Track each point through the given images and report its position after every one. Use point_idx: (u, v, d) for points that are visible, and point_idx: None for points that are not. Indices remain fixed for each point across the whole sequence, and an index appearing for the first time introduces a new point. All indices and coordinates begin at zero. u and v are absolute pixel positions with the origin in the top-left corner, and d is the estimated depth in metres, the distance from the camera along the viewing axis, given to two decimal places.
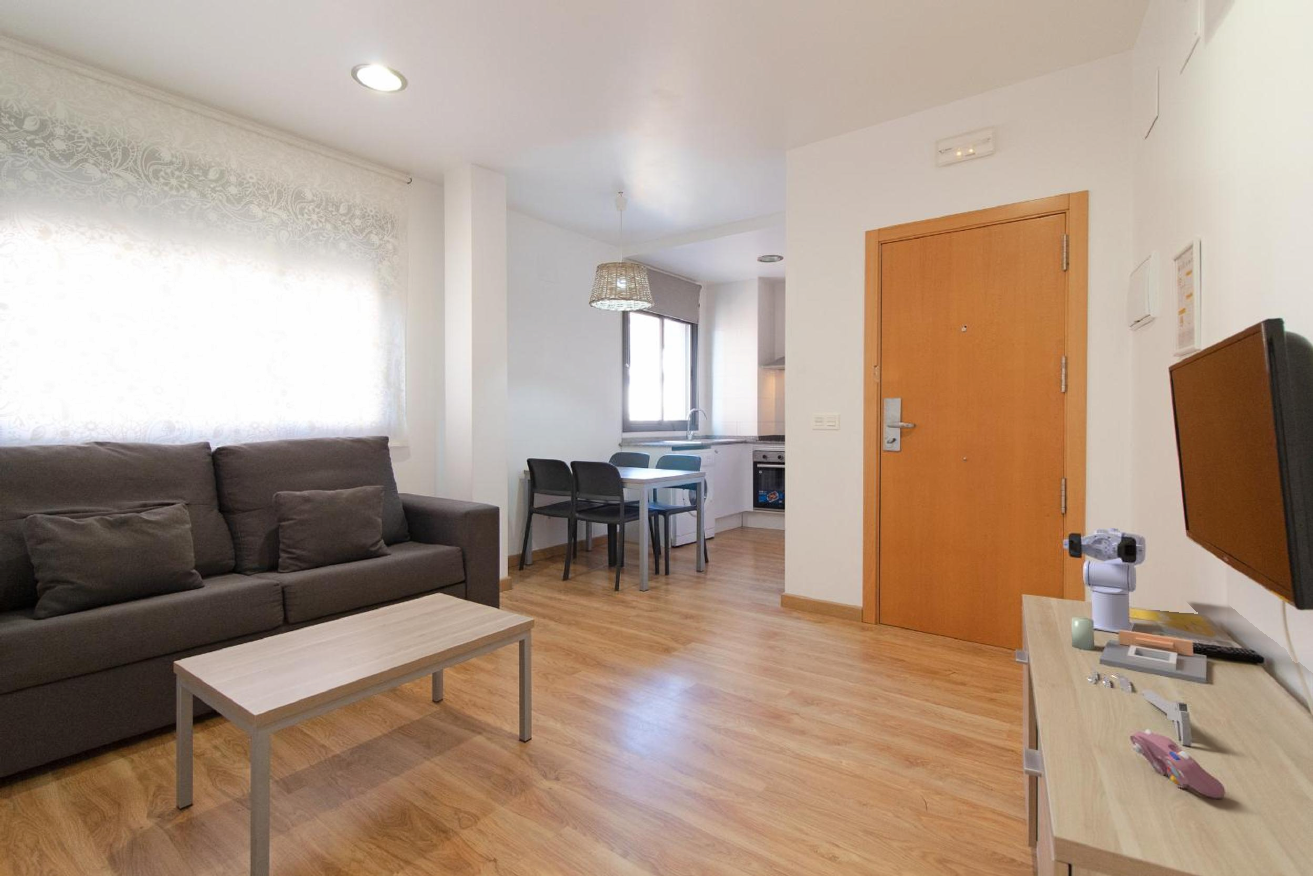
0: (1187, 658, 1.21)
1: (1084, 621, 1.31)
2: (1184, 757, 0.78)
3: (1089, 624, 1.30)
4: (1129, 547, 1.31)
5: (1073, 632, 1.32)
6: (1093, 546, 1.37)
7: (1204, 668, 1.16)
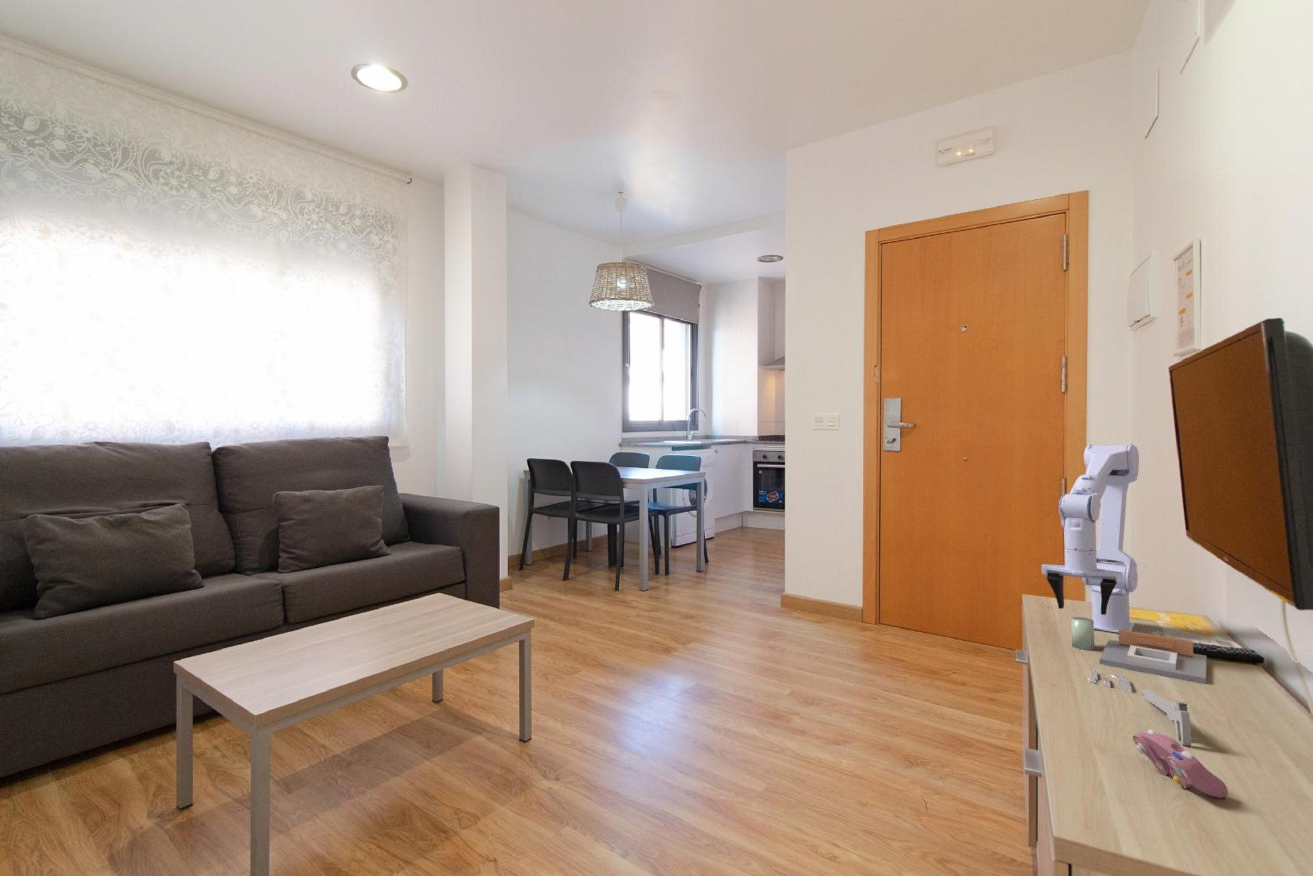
0: (1187, 658, 1.21)
1: (1084, 621, 1.31)
2: (1187, 757, 0.78)
3: (1089, 624, 1.30)
4: None
5: (1073, 632, 1.32)
6: None
7: (1204, 668, 1.16)
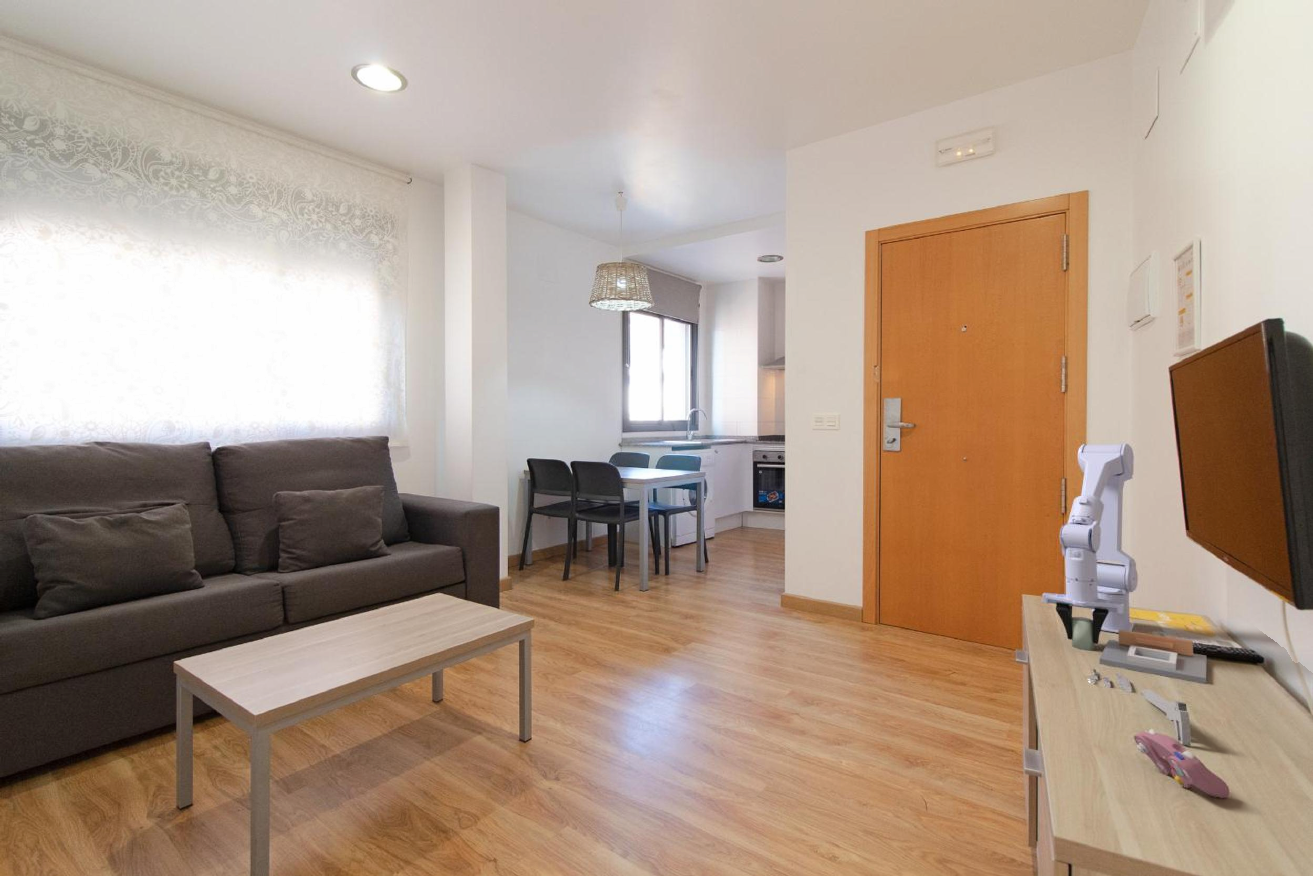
0: (1187, 658, 1.21)
1: (1084, 621, 1.31)
2: (1188, 757, 0.78)
3: (1089, 624, 1.30)
4: None
5: (1073, 632, 1.32)
6: None
7: (1204, 668, 1.16)
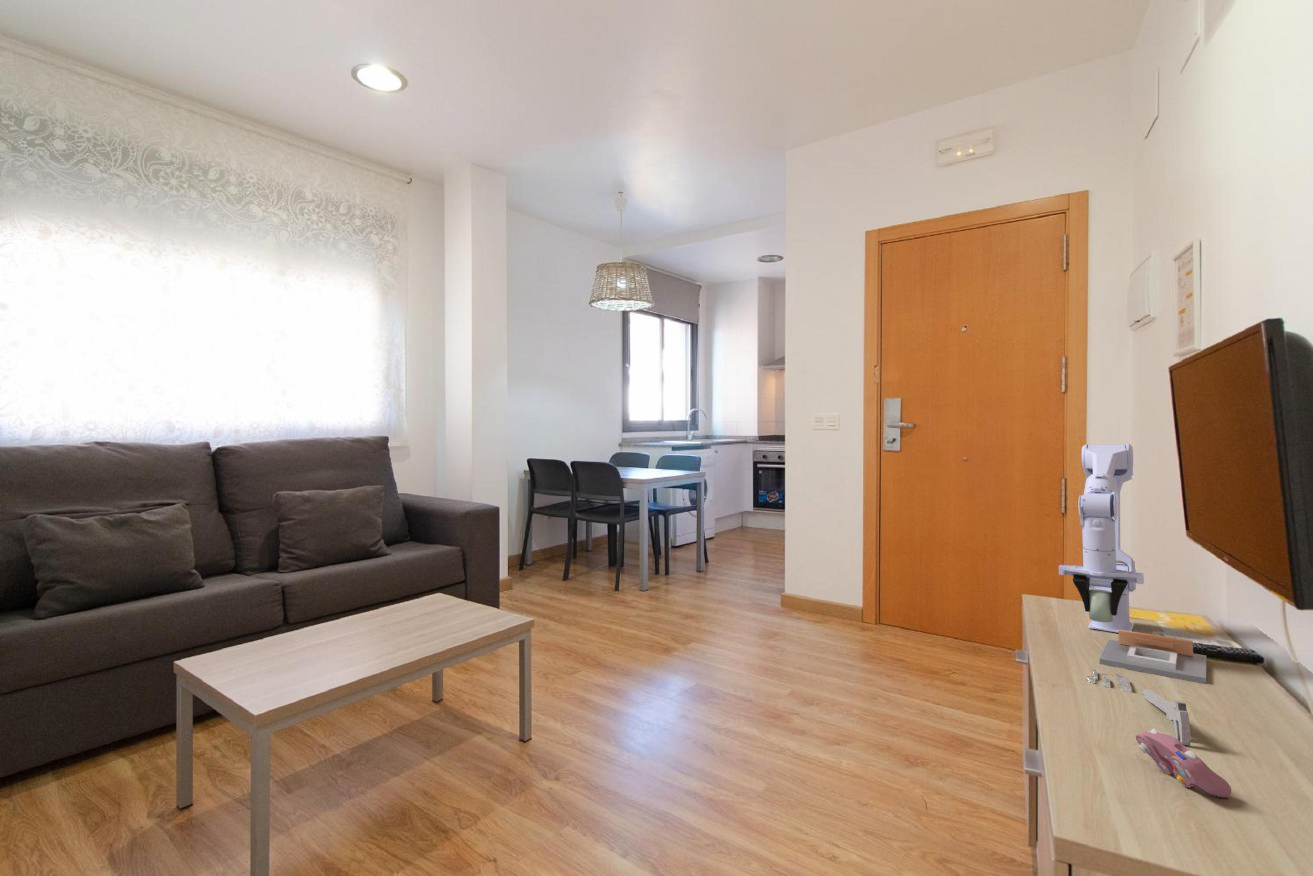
0: (1187, 658, 1.21)
1: (1102, 593, 1.28)
2: (1190, 757, 0.78)
3: (1107, 596, 1.27)
4: None
5: (1091, 604, 1.29)
6: None
7: (1204, 668, 1.16)
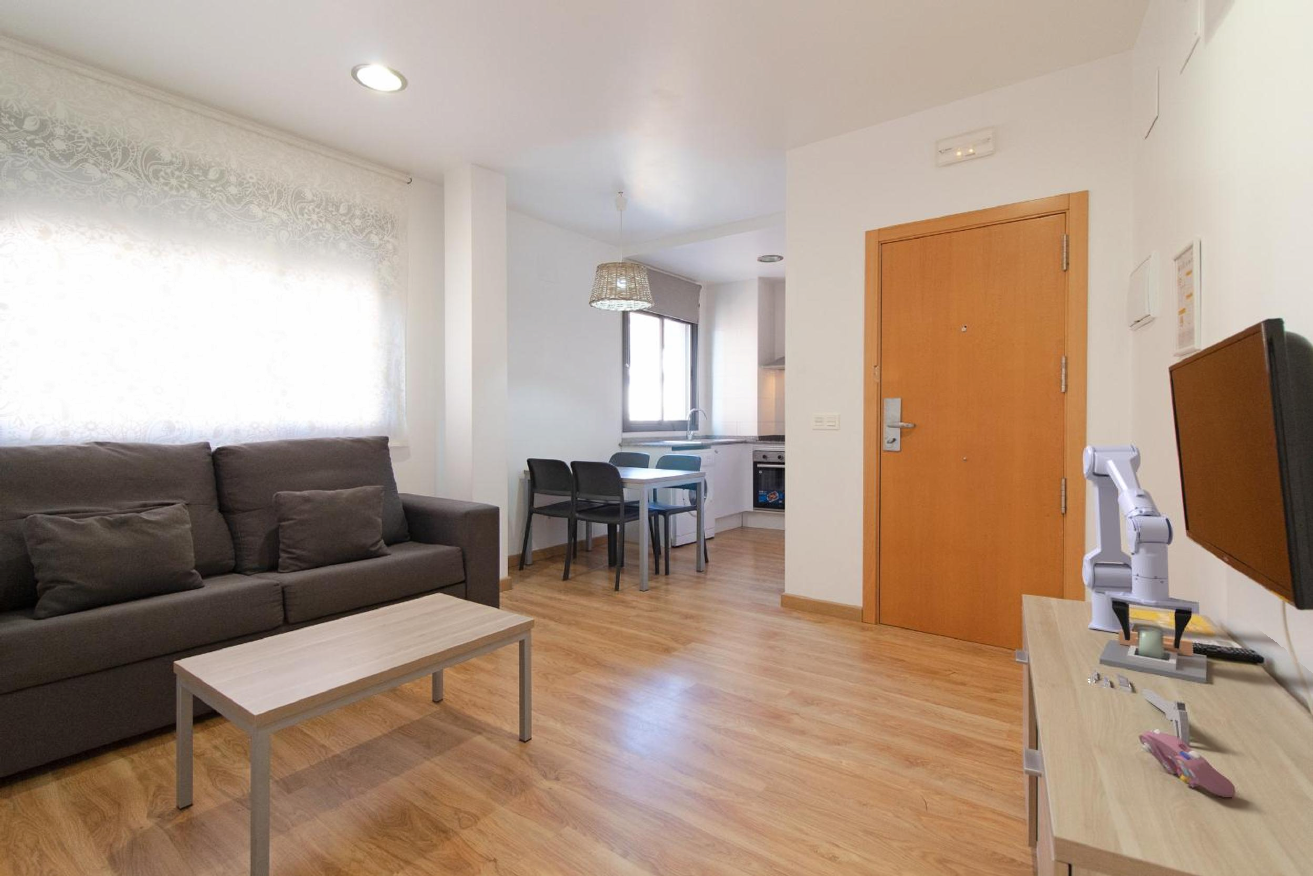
0: (1187, 658, 1.21)
1: (1153, 631, 1.20)
2: (1194, 757, 0.78)
3: (1159, 635, 1.19)
4: None
5: (1140, 644, 1.21)
6: None
7: (1204, 668, 1.16)
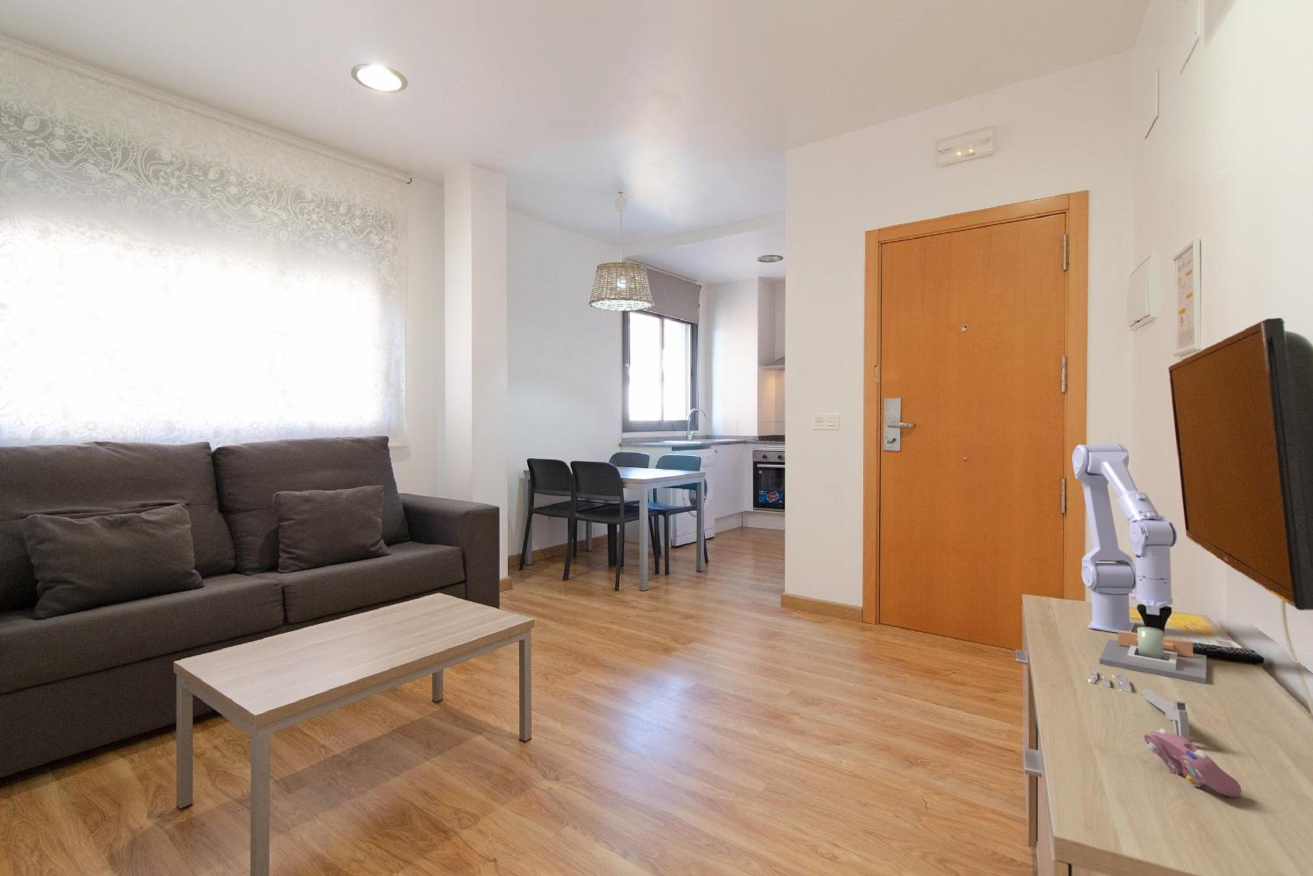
0: (1187, 658, 1.21)
1: (1153, 632, 1.20)
2: (1200, 756, 0.78)
3: (1159, 635, 1.19)
4: None
5: (1141, 644, 1.21)
6: None
7: (1204, 668, 1.16)
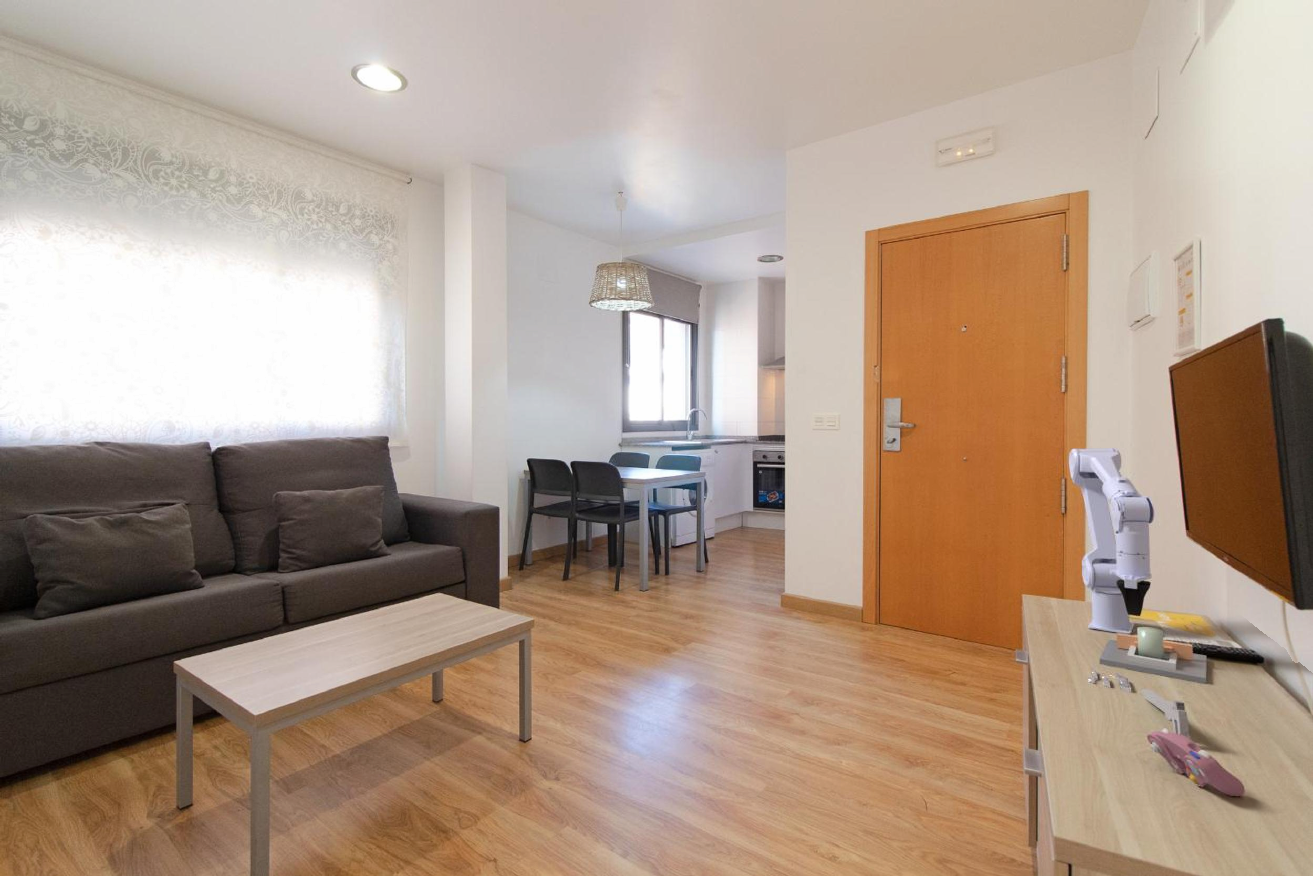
0: None
1: (1153, 632, 1.20)
2: (1204, 756, 0.78)
3: (1159, 635, 1.19)
4: None
5: (1141, 644, 1.21)
6: None
7: (1204, 668, 1.16)
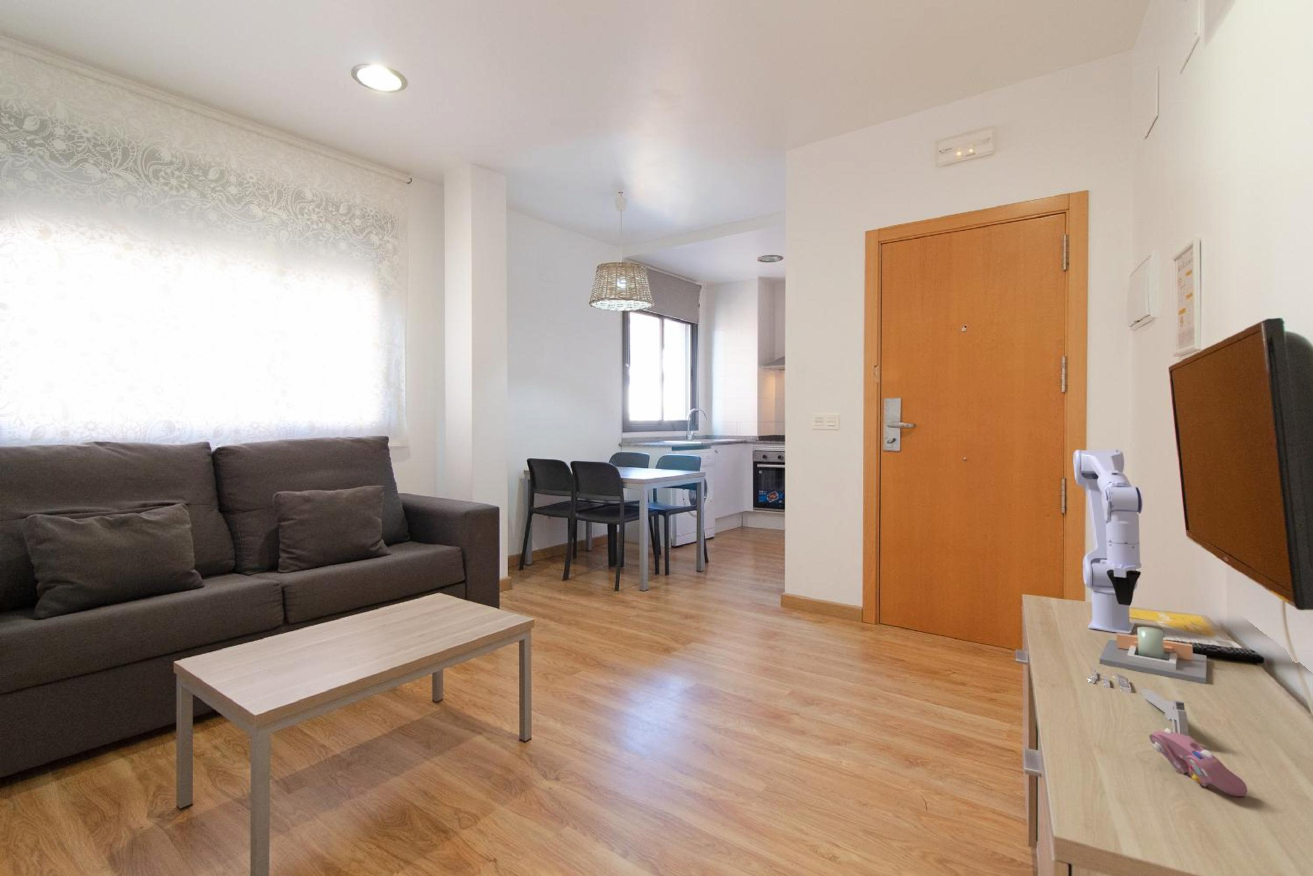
0: None
1: (1153, 631, 1.20)
2: (1206, 756, 0.78)
3: (1159, 635, 1.19)
4: None
5: (1141, 644, 1.21)
6: None
7: (1204, 668, 1.16)
